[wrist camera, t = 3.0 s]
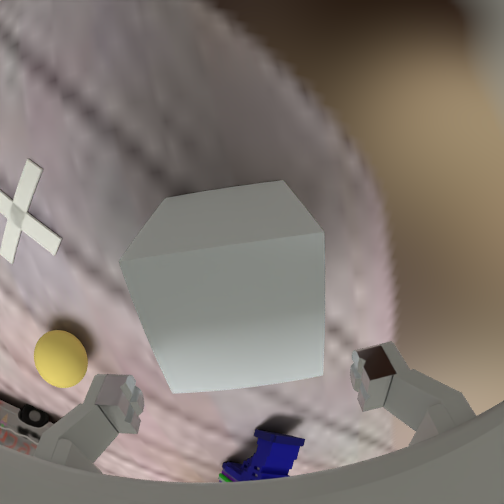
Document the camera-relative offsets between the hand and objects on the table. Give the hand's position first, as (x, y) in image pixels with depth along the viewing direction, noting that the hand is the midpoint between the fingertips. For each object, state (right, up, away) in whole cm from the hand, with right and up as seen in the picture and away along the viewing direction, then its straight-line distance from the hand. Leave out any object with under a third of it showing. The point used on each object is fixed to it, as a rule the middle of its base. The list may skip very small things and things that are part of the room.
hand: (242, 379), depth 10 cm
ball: (-16, -4, +10) cm, 19 cm away
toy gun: (0, -19, +22) cm, 29 cm away
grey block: (-1, +5, +10) cm, 11 cm away
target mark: (-17, +7, +7) cm, 20 cm away
